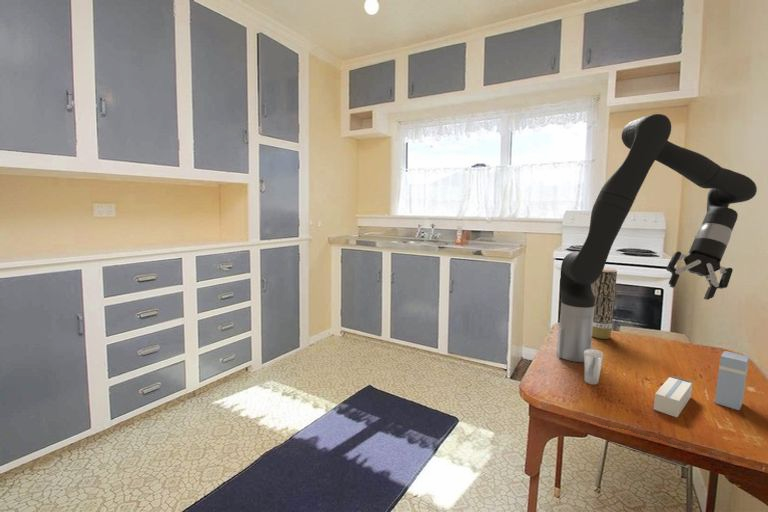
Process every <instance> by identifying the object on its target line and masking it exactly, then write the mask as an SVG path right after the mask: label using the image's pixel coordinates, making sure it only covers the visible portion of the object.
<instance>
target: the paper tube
mask: <svg viewBox="0 0 768 512" xmlns="http://www.w3.org/2000/svg"><path fill="white" fill-rule="evenodd" d="M617 275H618V270H617V269H616V268H610V267H604V269H603V271H602V273H601V275H600V277H599V278H598V279H597V280H596V281H595V282H594V283H593V288H592V289H593V290H592V292H593V295H594V297H595V307H594V318H593V330H592V338H596V339H599V340H601V339H602V340H607V339H608V340H609V339H611V337H612V327H613V318H614V309H615V298H616V297H615V296H616V295H615V294H616V284H617Z"/></svg>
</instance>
